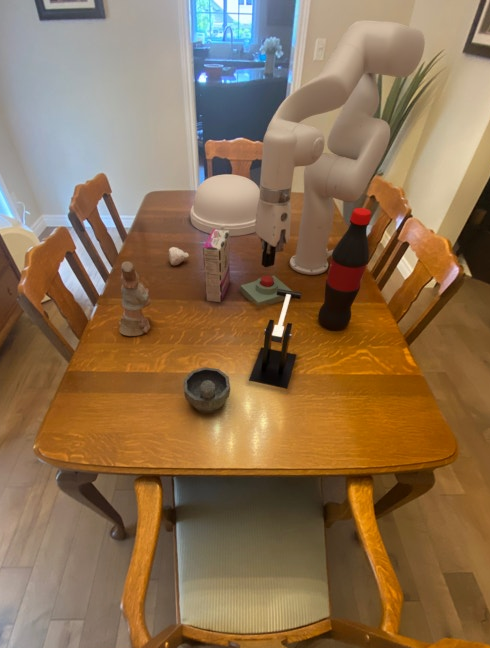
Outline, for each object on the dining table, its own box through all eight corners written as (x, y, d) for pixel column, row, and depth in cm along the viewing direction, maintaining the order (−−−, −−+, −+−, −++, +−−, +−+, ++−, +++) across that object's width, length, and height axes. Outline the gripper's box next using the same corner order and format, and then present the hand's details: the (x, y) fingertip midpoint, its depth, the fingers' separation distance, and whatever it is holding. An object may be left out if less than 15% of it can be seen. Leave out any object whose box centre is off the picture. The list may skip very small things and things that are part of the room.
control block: (273, 281, 114) (274, 270, 111) (292, 298, 108) (293, 285, 105) (240, 291, 110) (240, 279, 107) (257, 309, 104) (258, 297, 101)
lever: (277, 292, 85) (278, 286, 83) (301, 297, 84) (302, 290, 82) (264, 339, 80) (264, 333, 78) (288, 344, 79) (289, 338, 77)
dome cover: (199, 200, 155) (197, 162, 145) (269, 205, 153) (272, 167, 142) (181, 233, 134) (178, 192, 124) (262, 240, 132) (265, 198, 121)
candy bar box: (214, 281, 113) (212, 228, 101) (229, 283, 113) (230, 229, 100) (205, 301, 106) (202, 246, 94) (221, 303, 105) (221, 248, 93)
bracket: (260, 350, 92) (264, 307, 83) (295, 357, 91) (304, 315, 81) (248, 383, 84) (251, 340, 75) (286, 391, 83) (294, 349, 73)
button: (268, 279, 108) (269, 274, 106) (275, 285, 106) (276, 280, 104) (258, 282, 106) (258, 277, 105) (265, 288, 104) (265, 283, 103)
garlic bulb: (191, 265, 119) (189, 249, 115) (173, 268, 118) (171, 252, 114) (186, 258, 122) (185, 242, 118) (169, 260, 121) (167, 244, 117)
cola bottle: (349, 319, 101) (384, 205, 79) (345, 337, 96) (381, 221, 74) (319, 313, 103) (345, 200, 81) (313, 330, 98) (339, 214, 75)
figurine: (144, 341, 94) (128, 269, 79) (114, 334, 95) (93, 262, 80) (158, 321, 99) (146, 250, 84) (130, 315, 101) (114, 244, 86)
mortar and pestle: (185, 390, 83) (180, 350, 74) (226, 387, 84) (226, 347, 74) (187, 430, 75) (182, 391, 66) (232, 426, 76) (233, 387, 67)
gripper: (306, 201, 85) (294, 274, 98) (270, 181, 93) (264, 251, 107) (279, 206, 82) (271, 281, 96) (245, 185, 91) (242, 256, 104)
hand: (267, 265), depth 101 cm, fingers closed
